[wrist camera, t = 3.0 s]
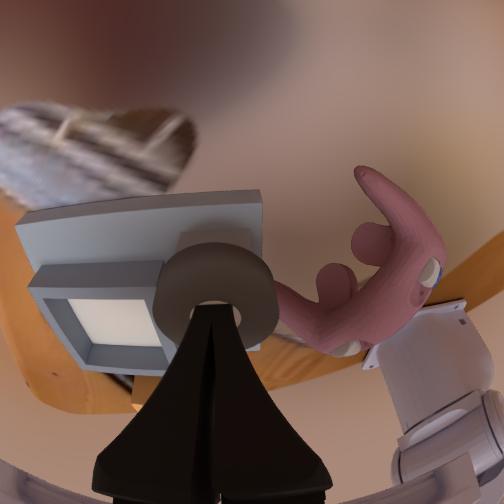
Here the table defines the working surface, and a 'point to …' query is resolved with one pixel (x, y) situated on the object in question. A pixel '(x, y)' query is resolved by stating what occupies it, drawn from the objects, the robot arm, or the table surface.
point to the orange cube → (143, 389)
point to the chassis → (125, 269)
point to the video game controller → (379, 286)
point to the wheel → (216, 290)
